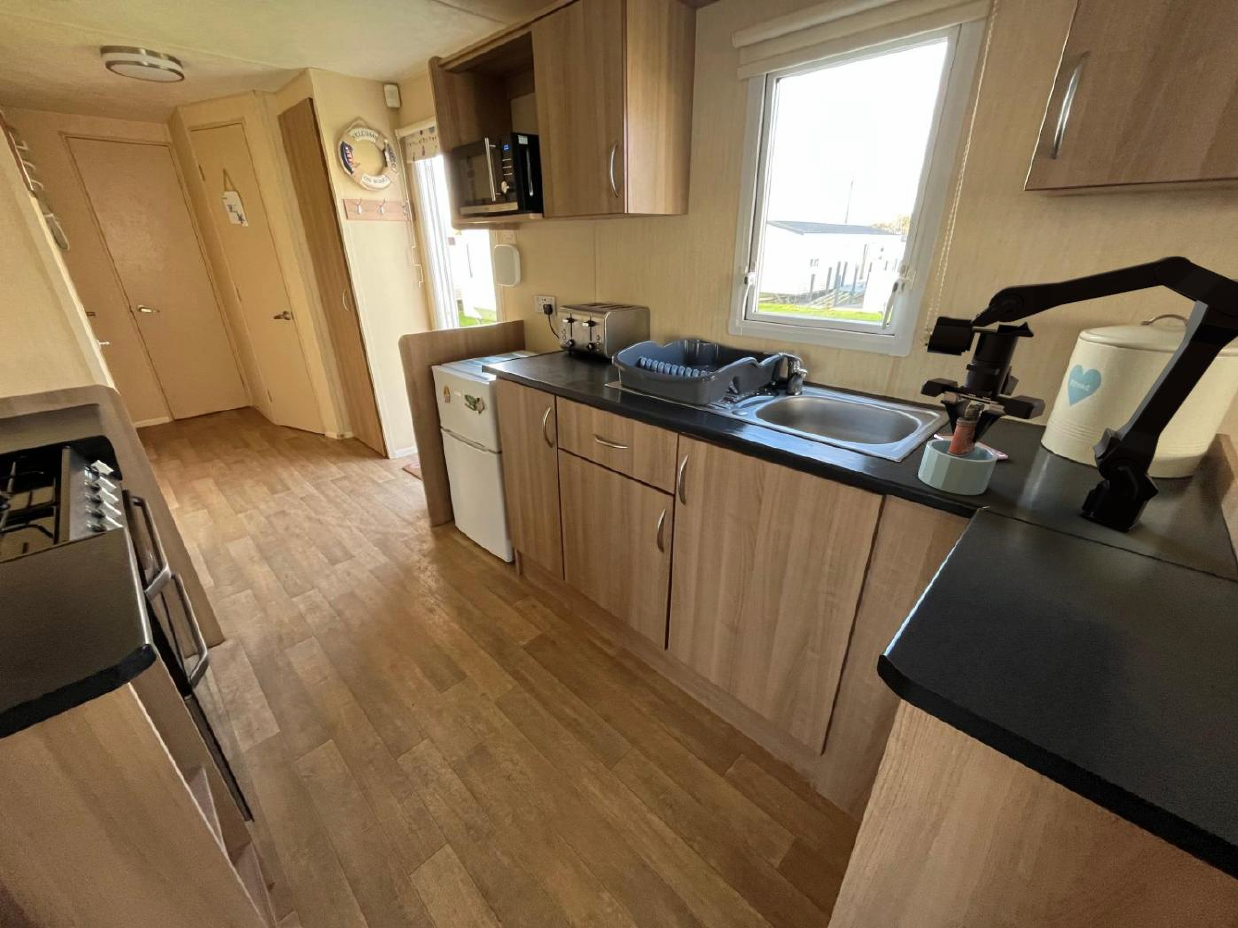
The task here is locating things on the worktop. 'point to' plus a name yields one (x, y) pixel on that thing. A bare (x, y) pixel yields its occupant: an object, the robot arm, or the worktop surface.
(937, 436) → the mobile phone
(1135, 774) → the worktop surface
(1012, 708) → the worktop surface
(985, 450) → the pale green round tub
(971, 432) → the lighter
